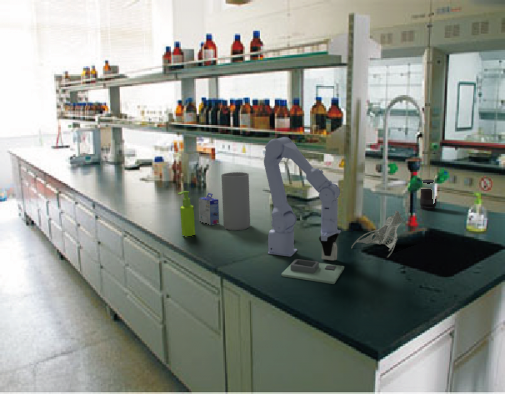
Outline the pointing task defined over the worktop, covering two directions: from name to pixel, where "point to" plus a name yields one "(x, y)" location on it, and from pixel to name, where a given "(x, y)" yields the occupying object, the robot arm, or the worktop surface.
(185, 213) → the soap dispenser
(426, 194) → the camera lens
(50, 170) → the worktop surface
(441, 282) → the worktop surface
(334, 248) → the keyed plug
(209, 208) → the ink cartridge box
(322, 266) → the white board with tray
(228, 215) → the cylinder vase
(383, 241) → the skeletal model
